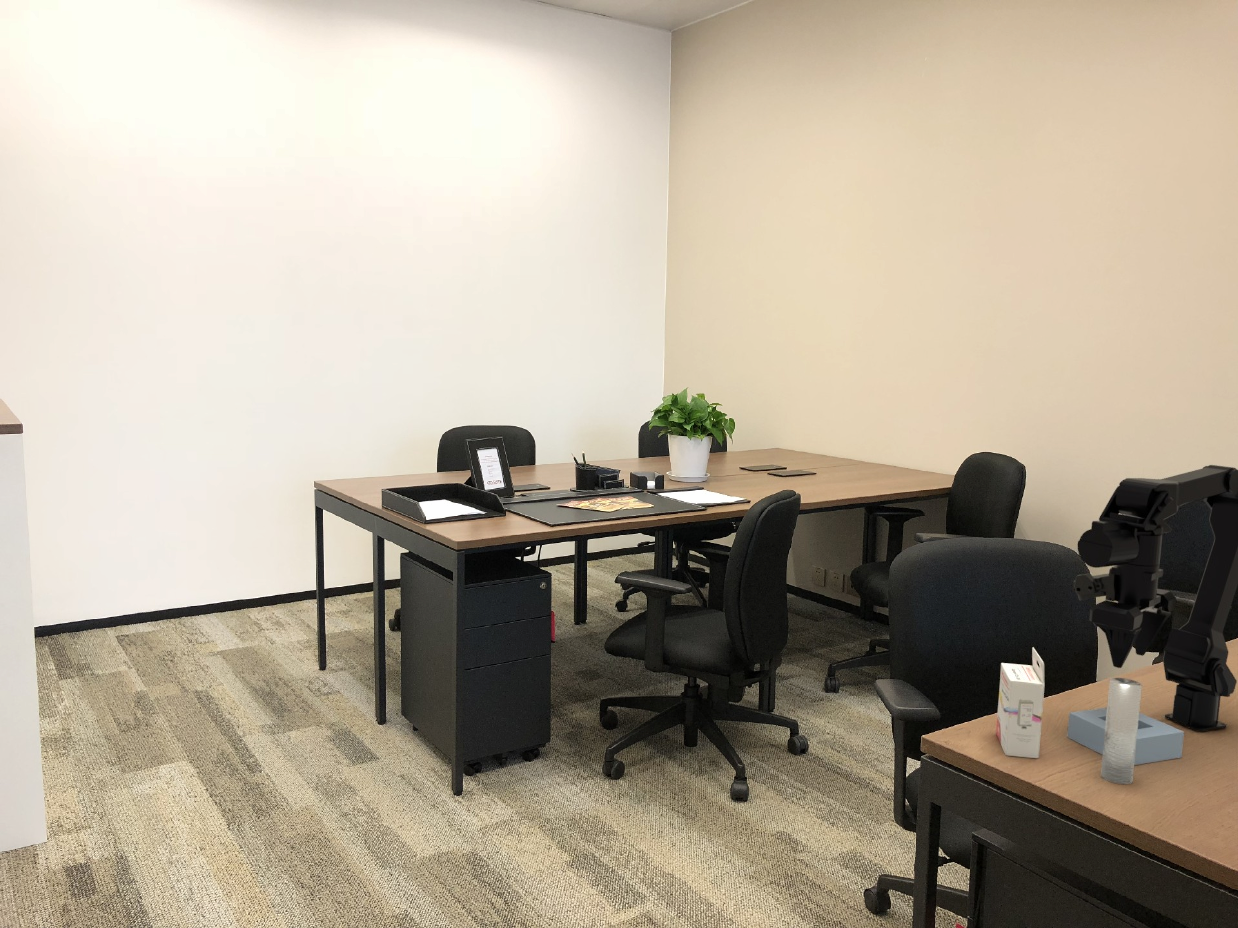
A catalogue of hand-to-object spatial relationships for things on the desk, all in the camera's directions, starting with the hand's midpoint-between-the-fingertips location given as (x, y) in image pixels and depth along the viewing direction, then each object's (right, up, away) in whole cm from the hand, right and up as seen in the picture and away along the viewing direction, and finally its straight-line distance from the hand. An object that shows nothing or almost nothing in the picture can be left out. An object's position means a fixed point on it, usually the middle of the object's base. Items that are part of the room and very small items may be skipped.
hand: (1128, 660), depth 148 cm
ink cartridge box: (-18, -13, -2) cm, 22 cm away
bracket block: (-1, -13, -1) cm, 13 cm away
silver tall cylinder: (-8, -14, -12) cm, 20 cm away
